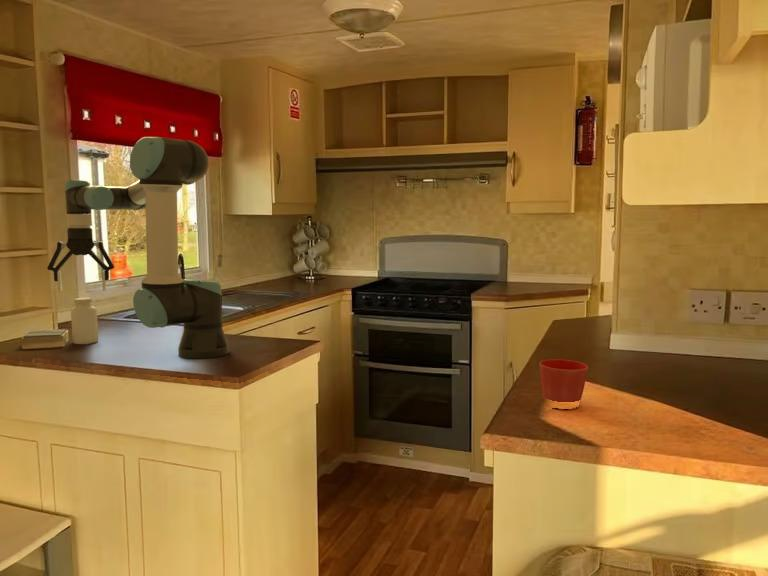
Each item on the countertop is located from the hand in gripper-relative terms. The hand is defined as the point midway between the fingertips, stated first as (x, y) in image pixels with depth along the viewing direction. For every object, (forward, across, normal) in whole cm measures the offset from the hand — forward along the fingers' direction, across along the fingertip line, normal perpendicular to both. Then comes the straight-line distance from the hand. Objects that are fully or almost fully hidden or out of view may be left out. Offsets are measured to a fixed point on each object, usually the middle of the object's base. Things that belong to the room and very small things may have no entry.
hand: (82, 290), depth 219 cm
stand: (+18, +12, 0) cm, 21 cm away
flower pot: (+16, -114, +112) cm, 160 cm away
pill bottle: (+18, 0, 0) cm, 18 cm away
